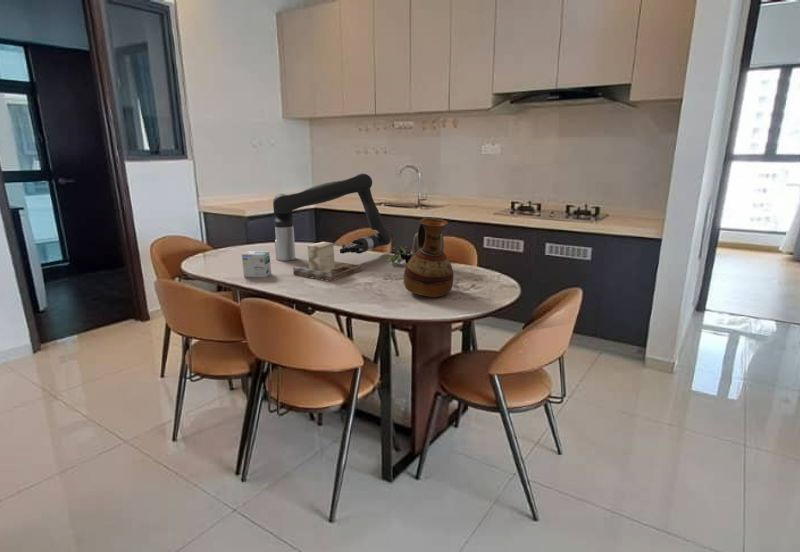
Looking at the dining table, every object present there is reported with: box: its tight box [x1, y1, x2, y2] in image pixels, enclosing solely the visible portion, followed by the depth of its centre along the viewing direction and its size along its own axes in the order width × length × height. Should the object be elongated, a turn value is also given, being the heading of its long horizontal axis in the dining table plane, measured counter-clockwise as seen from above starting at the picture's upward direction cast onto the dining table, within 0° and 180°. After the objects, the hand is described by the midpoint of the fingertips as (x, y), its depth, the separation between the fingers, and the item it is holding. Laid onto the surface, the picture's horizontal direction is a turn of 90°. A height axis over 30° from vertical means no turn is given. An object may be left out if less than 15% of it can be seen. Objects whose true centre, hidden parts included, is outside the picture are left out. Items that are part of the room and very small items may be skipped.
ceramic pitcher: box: [403, 217, 454, 297], centre depth 182 cm, size 20×20×30 cm
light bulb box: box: [241, 250, 272, 278], centre depth 211 cm, size 11×7×11 cm, turn 84°
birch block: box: [307, 241, 335, 272], centre depth 212 cm, size 6×10×12 cm, turn 148°
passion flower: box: [386, 245, 413, 267], centre depth 229 cm, size 11×11×12 cm
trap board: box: [292, 260, 363, 282], centre depth 217 cm, size 22×23×4 cm
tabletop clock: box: [411, 216, 445, 255], centre depth 217 cm, size 14×9×25 cm, turn 83°
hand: (341, 251), depth 223 cm, fingers closed
